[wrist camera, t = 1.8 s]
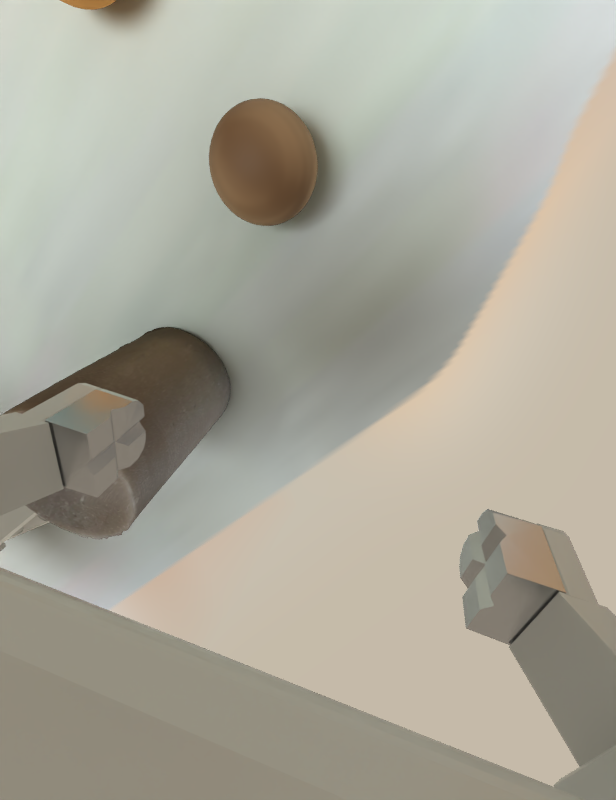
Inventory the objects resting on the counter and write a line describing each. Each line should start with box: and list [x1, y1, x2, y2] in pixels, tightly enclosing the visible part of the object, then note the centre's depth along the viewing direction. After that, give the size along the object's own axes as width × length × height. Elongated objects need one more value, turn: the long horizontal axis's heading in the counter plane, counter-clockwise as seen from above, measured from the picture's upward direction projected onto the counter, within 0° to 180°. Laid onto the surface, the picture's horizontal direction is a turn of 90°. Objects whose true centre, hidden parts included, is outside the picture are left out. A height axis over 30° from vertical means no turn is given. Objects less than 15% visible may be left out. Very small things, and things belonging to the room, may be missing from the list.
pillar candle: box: [4, 327, 230, 539], centre depth 27 cm, size 10×10×15 cm
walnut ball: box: [209, 98, 318, 226], centre depth 21 cm, size 6×6×6 cm
